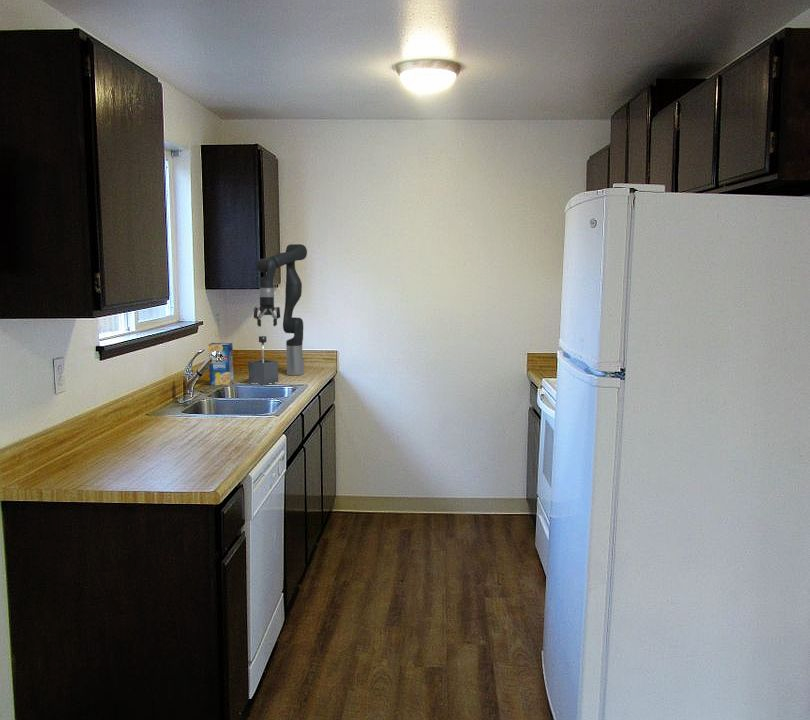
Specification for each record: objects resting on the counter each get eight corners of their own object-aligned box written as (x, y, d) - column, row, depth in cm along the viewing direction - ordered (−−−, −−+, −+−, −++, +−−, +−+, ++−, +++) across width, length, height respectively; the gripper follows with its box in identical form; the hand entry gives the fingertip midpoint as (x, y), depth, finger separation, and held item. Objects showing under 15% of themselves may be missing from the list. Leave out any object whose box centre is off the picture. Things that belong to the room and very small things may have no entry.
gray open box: (263, 381, 406) (262, 359, 404) (278, 382, 400) (277, 361, 399) (249, 384, 397) (248, 361, 395) (264, 385, 391) (263, 363, 389)
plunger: (262, 364, 403) (262, 335, 401) (274, 365, 398) (273, 336, 396) (252, 366, 396) (251, 336, 394) (263, 367, 392) (263, 337, 389)
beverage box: (230, 385, 392) (228, 344, 389) (209, 385, 392) (208, 344, 389) (233, 383, 399) (232, 342, 396) (213, 383, 399) (212, 342, 396)
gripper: (276, 296, 406) (277, 325, 408) (251, 296, 399) (252, 326, 401) (281, 296, 400) (282, 326, 401) (256, 296, 393) (256, 326, 394)
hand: (267, 326), depth 401 cm, fingers open, 8 cm apart
